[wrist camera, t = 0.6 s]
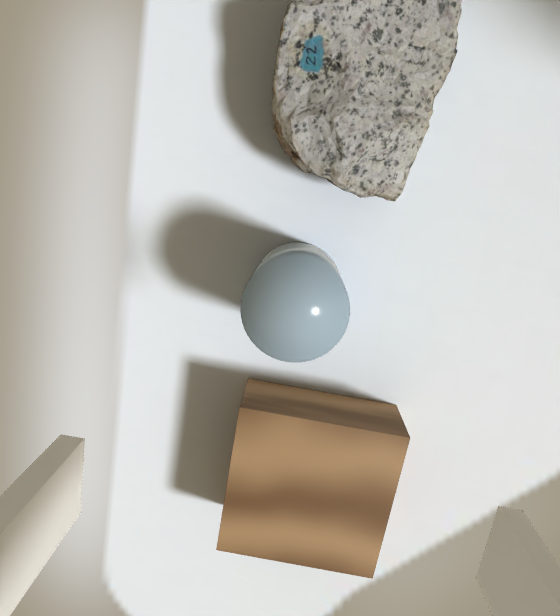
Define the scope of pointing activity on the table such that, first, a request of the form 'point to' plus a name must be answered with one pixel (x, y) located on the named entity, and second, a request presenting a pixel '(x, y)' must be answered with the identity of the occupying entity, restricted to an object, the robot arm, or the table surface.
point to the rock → (361, 87)
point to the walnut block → (312, 478)
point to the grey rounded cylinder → (295, 303)
